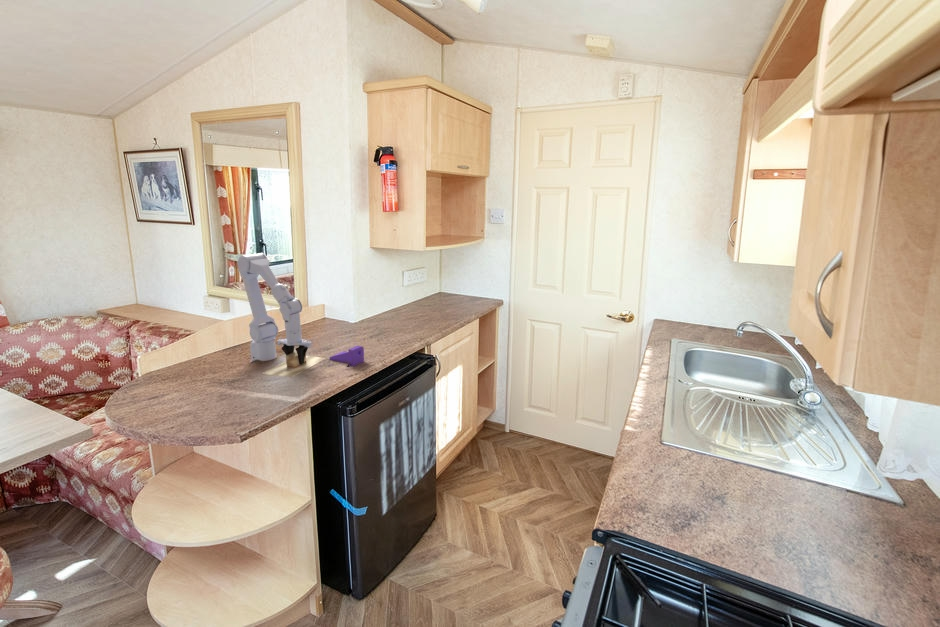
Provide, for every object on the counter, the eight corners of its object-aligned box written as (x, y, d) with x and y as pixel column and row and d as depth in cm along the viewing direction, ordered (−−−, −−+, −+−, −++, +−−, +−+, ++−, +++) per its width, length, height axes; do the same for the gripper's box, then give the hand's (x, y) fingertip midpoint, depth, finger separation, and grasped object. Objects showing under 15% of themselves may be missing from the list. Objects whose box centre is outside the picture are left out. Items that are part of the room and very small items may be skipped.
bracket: (363, 361, 198) (363, 345, 196) (352, 366, 192) (352, 350, 190) (341, 355, 203) (340, 340, 201) (329, 360, 197) (329, 344, 195)
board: (261, 376, 182) (261, 373, 182) (297, 357, 202) (297, 355, 202) (293, 380, 178) (293, 377, 178) (326, 360, 199) (326, 357, 198)
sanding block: (286, 367, 188) (285, 356, 187) (297, 361, 195) (296, 350, 194) (295, 367, 187) (294, 357, 186) (306, 361, 194) (305, 351, 193)
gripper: (270, 331, 186) (274, 364, 189) (303, 334, 182) (306, 368, 185) (282, 326, 192) (286, 359, 196) (314, 329, 188) (317, 362, 192)
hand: (296, 363), depth 191 cm, fingers closed on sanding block, 4 cm apart
